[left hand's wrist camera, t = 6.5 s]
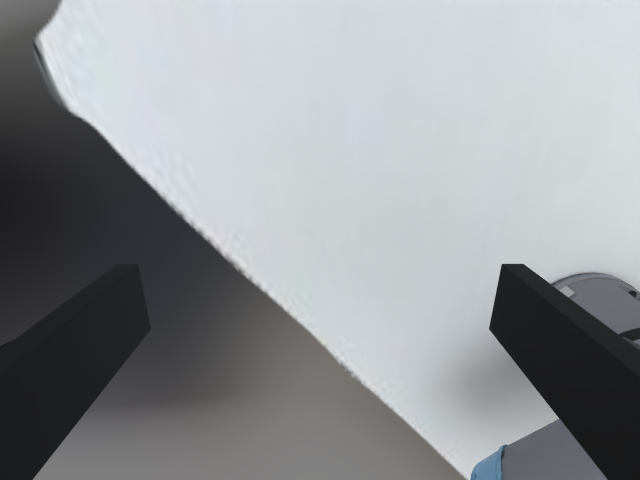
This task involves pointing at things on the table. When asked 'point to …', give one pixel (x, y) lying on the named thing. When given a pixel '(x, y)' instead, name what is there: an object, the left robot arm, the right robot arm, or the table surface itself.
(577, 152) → the table surface
